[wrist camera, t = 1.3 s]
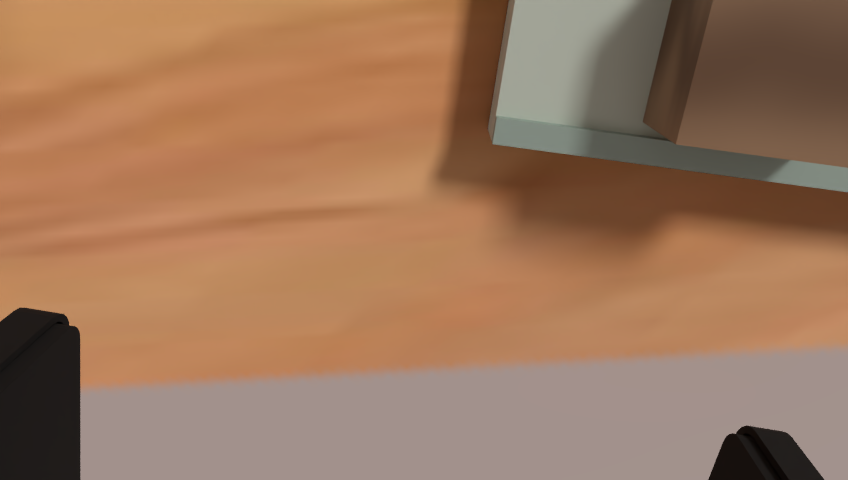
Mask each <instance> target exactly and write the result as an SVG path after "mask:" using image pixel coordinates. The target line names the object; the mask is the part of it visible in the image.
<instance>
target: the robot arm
mask: <svg viewBox="0 0 848 480" xmlns="http://www.w3.org/2000/svg"><path fill="white" fill-rule="evenodd" d="M0 480H80V333H79V330H78V328H77V327H75V326H69V321H68V319H67V317H66V316H65V315H64V314H60V313H53V312H47V311H41V310H35V309H29V308H19V309H17V310H15V311H13V312H12V313H11V314H10V315H8V316H7V317H6V318H4V319H3V320H2V321H1V322H0ZM709 480H824V479H823V477H822V476H821V475H820V474H819V472H818V471H817V470H816V468H815V467H814V466H813V464H812V463H811V462H810V460H809V459H808V458H807V457H806V455H805V454H804V453H803V451H802V450H801V449H800V447H799V446H798V445H797V443H796V442H795V441H794V440H793V438H792V437H791V436H790V435H789V434H788V433H785V432H782V431H776V430H770V429H764V428H757V427H751V426H744V427H741V428H740V429H739V430H738V431H737V433H736V434H729V435H728V436H727V437H726V438H725V440H724V442H723V444H722V447H721V449H720V452H719V454H718V457H717V459H716V462H715V464H714V467H713V470H712V472H711V475H710V477H709Z"/></svg>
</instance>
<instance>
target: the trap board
mask: <svg viewBox="0 0 848 480" xmlns="http://www.w3.org/2000/svg"><path fill="white" fill-rule="evenodd" d="M671 1H672V0H509V2H508V8H507V14H506V20H505V26H504V32H503V39H502V45H501V51H500V57H499V63H498V69H497V75H496V81H495V87H494V94H493V100H492V106H491V112H490V118H489V124H488V132H489V135H490V138H491V141H492V144H495V145H502V146H509V147H517V148H524V149H532V150H539V151H546V152H554V153H561V154H569V155H576V156H583V157H591V158H598V159H606V160H613V161H620V162H628V163H635V164H643V165H650V166H657V167H665V168H672V169H680V170H687V171H694V172H702V173H709V174H716V175H724V176H731V177H739V178H746V179H753V180H761V181H768V182H776V183H783V184H790V185H798V186H805V187H813V188H820V189H827V190H835V191H842V192H848V168H845V167H838V166H831V165H823V164H816V163H809V162H801V161H794V160H787V159H779V158H772V157H765V156H757V155H750V154H743V153H735V152H728V151H720V150H713V149H706V148H698V147H691V146H684V145H676V144H674V143H673V142H671V141H670V140H668V139H667V138H666V137H664V136H663V135H661V134H660V133H658V132H657V131H655V130H654V129H652V128H651V127H649V126H648V125H646V124H645V123H643V118H644V114H645V110H646V105H647V101H648V97H649V93H650V89H651V85H652V80H653V76H654V72H655V68H656V64H657V59H658V55H659V51H660V47H661V43H662V39H663V34H664V30H665V26H666V22H667V18H668V14H669V9H670V5H671Z"/></svg>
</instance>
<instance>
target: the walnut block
mask: <svg viewBox="0 0 848 480" xmlns="http://www.w3.org/2000/svg"><path fill="white" fill-rule="evenodd" d="M643 123H645V124H646V125H648V126H649V127H651V128H652V129H654V130H655V131H657V132H658V133H660V134H661V135H663V136H664V137H666V138H667V139H668V140H670V141H671V142H673V143H674V144H676V145H684V146H691V147H698V148H706V149H713V150H720V151H728V152H735V153H743V154H750V155H757V156H765V157H772V158H779V159H787V160H794V161H801V162H809V163H816V164H823V165H831V166H838V167H845V168H848V0H672V1H671V5H670V9H669V14H668V18H667V22H666V26H665V30H664V34H663V39H662V43H661V47H660V51H659V55H658V59H657V64H656V68H655V72H654V76H653V80H652V85H651V89H650V93H649V97H648V101H647V105H646V110H645V114H644V118H643Z"/></svg>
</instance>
